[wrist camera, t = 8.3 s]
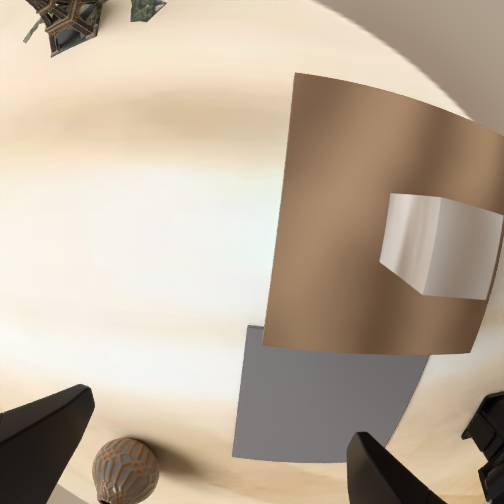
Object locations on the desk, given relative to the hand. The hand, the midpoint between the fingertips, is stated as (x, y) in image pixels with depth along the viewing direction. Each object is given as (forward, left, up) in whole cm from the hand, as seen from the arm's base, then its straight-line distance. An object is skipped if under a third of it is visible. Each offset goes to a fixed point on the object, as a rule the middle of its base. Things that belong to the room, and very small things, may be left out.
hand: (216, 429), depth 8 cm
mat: (-8, +10, -12) cm, 17 cm away
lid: (-8, -6, -7) cm, 12 cm away
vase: (+10, +21, -13) cm, 26 cm away
